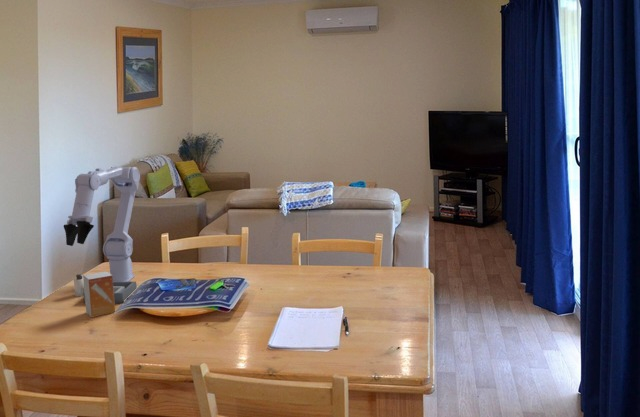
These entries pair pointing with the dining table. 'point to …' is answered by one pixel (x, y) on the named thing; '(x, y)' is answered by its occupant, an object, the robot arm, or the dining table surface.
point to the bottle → (79, 285)
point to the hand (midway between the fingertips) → (74, 244)
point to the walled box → (121, 290)
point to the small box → (99, 294)
